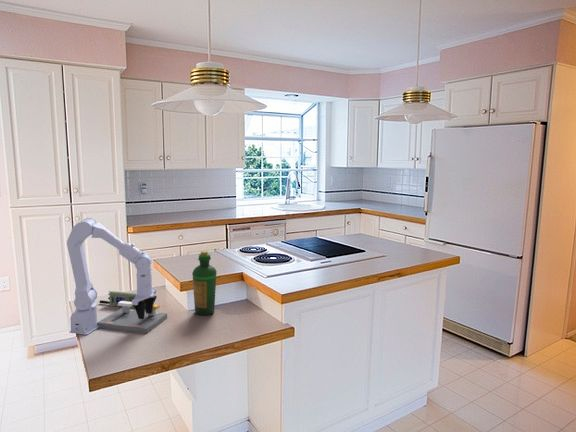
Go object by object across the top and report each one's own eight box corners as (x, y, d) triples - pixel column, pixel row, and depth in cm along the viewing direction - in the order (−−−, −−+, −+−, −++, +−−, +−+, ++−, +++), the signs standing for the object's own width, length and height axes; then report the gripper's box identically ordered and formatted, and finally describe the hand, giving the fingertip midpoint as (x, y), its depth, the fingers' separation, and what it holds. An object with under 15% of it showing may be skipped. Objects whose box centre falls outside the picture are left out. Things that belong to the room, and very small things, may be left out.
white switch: (130, 313, 170) (130, 304, 169) (118, 312, 171) (117, 302, 170) (134, 311, 172) (133, 302, 171) (121, 310, 173) (121, 300, 173)
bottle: (190, 309, 182) (190, 249, 178) (214, 306, 186) (214, 248, 182) (194, 318, 172) (194, 255, 168) (219, 315, 176) (219, 253, 172)
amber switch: (156, 316, 167) (156, 306, 167) (143, 314, 169) (143, 305, 168) (159, 314, 170) (159, 304, 169) (146, 312, 171) (146, 303, 170)
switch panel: (146, 333, 157) (146, 328, 156) (97, 327, 161) (97, 322, 161) (167, 317, 172) (167, 313, 172) (121, 312, 177) (121, 307, 176)
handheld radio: (147, 310, 180) (97, 305, 184) (151, 308, 183) (102, 303, 188) (147, 296, 179) (97, 291, 184) (151, 294, 183) (101, 289, 187)
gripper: (143, 290, 154) (144, 323, 156) (162, 279, 168) (163, 310, 170) (126, 288, 156) (127, 321, 158) (147, 278, 170) (148, 308, 172)
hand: (145, 315), depth 164 cm, fingers open, 5 cm apart
